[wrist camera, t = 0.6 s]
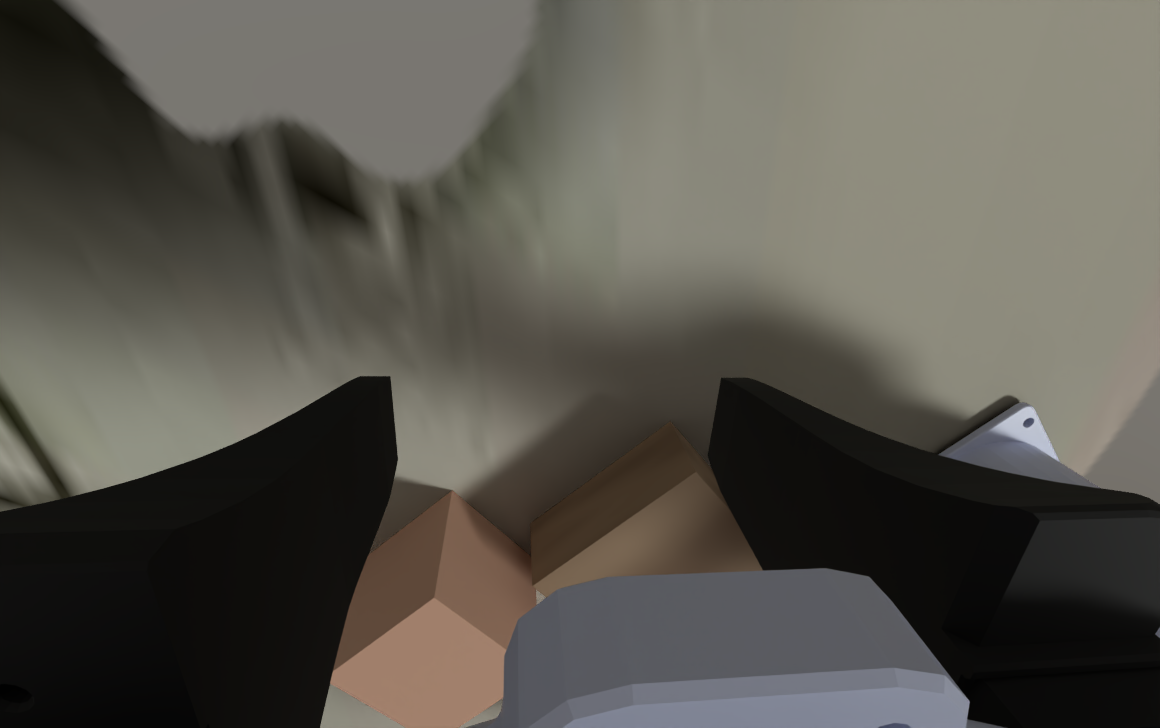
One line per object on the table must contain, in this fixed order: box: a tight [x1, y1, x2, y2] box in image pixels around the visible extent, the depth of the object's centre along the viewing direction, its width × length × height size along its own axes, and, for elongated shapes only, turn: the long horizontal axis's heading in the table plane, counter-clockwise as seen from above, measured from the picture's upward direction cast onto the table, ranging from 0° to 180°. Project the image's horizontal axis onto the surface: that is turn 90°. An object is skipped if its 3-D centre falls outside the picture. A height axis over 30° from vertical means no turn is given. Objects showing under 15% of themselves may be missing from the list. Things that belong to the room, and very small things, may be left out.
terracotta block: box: [330, 491, 536, 728], centre depth 23 cm, size 6×6×6 cm
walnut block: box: [530, 421, 763, 598], centre depth 25 cm, size 8×8×4 cm
